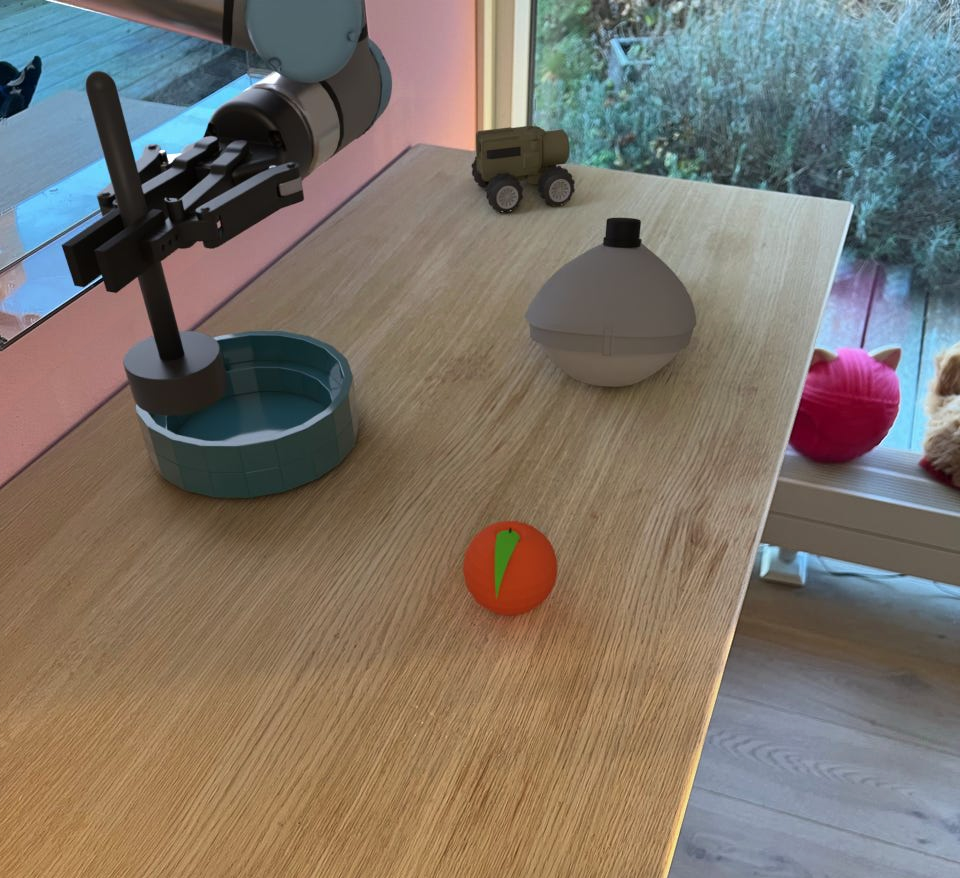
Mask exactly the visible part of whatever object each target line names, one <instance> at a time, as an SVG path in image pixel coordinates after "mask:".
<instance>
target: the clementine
mask: <svg viewBox="0 0 960 878" xmlns="http://www.w3.org/2000/svg"><path fill="white" fill-rule="evenodd" d="M462 573H463V578H464V581H465V586H466V588H467V590H468V591H469V593H470V594H471V596H472V597H473V599H474V600H475V602H476V603H478V604H479V605H480V606H481V607H483V608H484V609H486V610H488V611H489V612H492V613H494V614H497V615H501V616H512V617H513V616H518V615H523V614H526V613H528V612H531V611H532V610H534V609H536V608H537V607H539V606H540V605H542V604H543V603H544V602H545V601H546V600H547V598H548V597H549V595H550V594H551V592H552V590H553V589H554V586H555V584H556V580H557V577H558V560H557V555H556V552H555V549H554V547H553V545H552V544H551V541H550V540H549V538H547V536H546V535H545V534H544V533H542V532H541V531H540V530H539V529H537V528H536V527H535V526H533V525H532V524H528V523H526V522H522V521H518V520H504V521H498V522H494V523H492V524H489V525H487V526H486V527H484V528H483V529H482V530H480V532H478V533H477V534H476V535H475V536H474V537H473V538H472V539H471V541H470V543H469V545H468V546H467V549H466V551H465V553H464V557H463V566H462Z"/></svg>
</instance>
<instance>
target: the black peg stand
mask: <svg viewBox="0 0 960 878" xmlns="http://www.w3.org/2000/svg"><path fill="white" fill-rule="evenodd" d="M84 87H85V92H86V95H87V99H88V104H89V106H90V111H91V114H92V117H93V122H94V124H95V128H96V132H97V137H98V139H99V143H100V147H101V150H102V154H103V156H104V161H105V163H106V168H107V172H108V175H109V179H110V183H112V187H113V190H114V194H115V197H116V201H117V205H118V208H119V212H120V216H121V219H122V223H123V226H124V229H126V228H127V227H129V226H130V225H131V224H133V223H134V222H136V221H137V220H139V219H140V218H141V217H143V216H145V215H146V214H147V213H148V209H147V205H146V201H145V197H144V193H143V189H142V185H141V181H140V177H139V173H138V170H137V166H136V158H135V155H134V150H133V146H132V142H131V139H130V135H129V131H128V130H129V129H128V127H127V123H126V119H125V115H124V112H123V108H122V103H121V99H120V96H119V92H118V88H117V85H116V82H115V80H114V78H113V77H112V76H111V75H110V74H109V73H107V72H106V71H104V70H103V71H102V70H93V71H92V72H90V73H89V74H88V75H87V76H86V79H85V82H84ZM137 281H138V285H139V288H140V291H141V295H142V299H143V301H144V306H145V310H146V314H147V317H148V320H149V324H150V328H151V331H152V335H151V336H149V337H146V338H144V339H142V340H140V341H138V342H136V343H135V344H134V345H132V346H131V347H130V348H129V349H128V350H127V352H126V353H125V355H124V356H123V361H122V363H123V369H124V372H125V374H126V378H127V381H128V384H129V387H130V391H131V395H132V397H133V401H134V404H135V403H136V404H137V405H138V406H139V407H140V408H141V409H143V410H144V411H146V412H149V413H152V414H157V415H165V416H174V415H183V414H189V413H193V412H196V411H199V410H202V409H205V408H207V407H209V406H211V405H212V404H214V403H216V402H217V401H218V400H219V399H221V398H222V396H223V395H224V394H225V392H226V391H227V388H228V380H227V375H226V371H225V366H224V362H223V358H222V353H221V349H220V346H219V344H218V342H217V341H216V340H215V339H214V337H212V336H211V335H209V334H206V333H204V332H199V331H193V330H179V327H178V326H179V325H178V322H177V318H176V314H175V310H174V307H173V303H172V299H171V296H170V295H171V294H170V291H169V287H168V283H167V279H166V275H165V271H164V268H163V264H162V261H160V262H157V263H155V264H154V265H153V266H151V267H150V268H149V269H147V270H146V271H145V272H143V273H142V274H141V275H139V276H138V277H137Z"/></svg>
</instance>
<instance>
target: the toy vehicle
mask: <svg viewBox="0 0 960 878" xmlns="http://www.w3.org/2000/svg"><path fill="white" fill-rule="evenodd" d="M536 105H537V104H536V98H535V99H534V110H536ZM570 148H571V145H570V140H569V136H568V133H566V131H565V130H564V129H555V130H545V129H544V128H541V127H540V126H537V125H526V126H525V125H524V126H515V127H511V126H509V127H501V128H500V127H499V128H493V129H485V130H484V129H483V130H477V131H476V132H475V149H476V150H475V153H476V154H475V155H476V156H475V157H474V160H473V162H472V163H471V169H472V170H471V177H473V180H474V182H475V183H477V186H479V187H480V188H484V189H485V188H486V189H485V191H486V195H485V197H486V200H488V204H489V205H490V206H491V207H492V209H493V210H494V211H498V212H500V211H510V210H512V211H513V210H515V209H516V208H518V207H519V206H520V203H521V201H522V200H523V198H524V196H523V191H524V188H523V186H521V182H527V184H529V185H538V188H537V190H538V193H539V194H540V198H541V200H544V203H545V204H548V203H549V204H548V205H557V206H560V205H561V204H563V205H564V204H566V203H567V202H569V201H570V200H571V199H572V196H573V194H574V193H575V184H576V181H575V179H573V175H572V173H571V172H569V170H568V169H567V168H563V167H562V166H561V165H566V164H567V161H568V160H569V158H570V152H571V151H570ZM481 186H482V187H481Z"/></svg>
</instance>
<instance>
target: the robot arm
mask: <svg viewBox="0 0 960 878" xmlns="http://www.w3.org/2000/svg"><path fill="white" fill-rule="evenodd" d="M46 1H48V2H52V3H56V4H60V5H62V6H63V5H64V6H68V7H70V8H71V7H72V8H76V9H79V10H83V11H88V12H92V13H96V14H99V15H104V16H108V17H112V18H116V19H120V20H124V21H127V22H132V23H135V24H140V25H143V26H148V27H152V28H156V29H158V30H159V29H160V30H164V31H167V32H172V33H176V34H179V35H182V36H183V35H184V36H187V37H191V38H196V39H200V40H203V41H208V42H211V43H216V44H220V45H223V46H228V47H232V48H234V49H235V48H236V49H239V50H242V51H246V52H249V53H250V52H251V53H254V54H258V56H259V58H261V60H262V61H263V62H264V63H265V64H266V65H267V66H268V67H269V68H270V69H272V70H273V71H272V72H271V73H269V74H267V75H266V76H264V77H263V78H261V79H260V80H258V81H257V82H254V83H253V84H252V85H250V86H249V87H247V88H246V89H244V90H243V91H241V92H239V93H238V94H236V95H235V96H233V97H232V98H229V100H227V101H225V102H224V103H222V104H221V105H220V106H218V107H217V108H216V109H215V110H214V111H213V113H212V114H211V115H210V117H209V120H208V123H207V126H206V129H205V131H204V134H203V136H202V138H200V139H199V140H197V141H195V142H192V143H188V144H187V145H185V146H184V147H183V148H182V149H181V153H169V154H168V153H167V150H164V149H162V148H161V145H160V144H157V143H150V144H148V145H145V146H144V147H143V151H142V154H141V156H140V157H139V158H138V159H136V160H135V162H136V166H137V170H138V173H139V177H140V181H141V185H142V189H143V193H144V197H145V201H146V205H147V209H148V213H147V214H146V215H145V216H143V217H141V218H140V219H139V220H137V221H136V222H134V223H133V224H131V225H130V226H129V227H127V228H126V229H124V226H123V223H122V219H121V216H120V212H119V208H118V205H117V201H116V197H115V194H114V190H113V187H112V183H111V182H109V183H108V184H107V185H105V187H103V189H101V190H100V191H99V192H98V193H97V194H96V199H97V203H98V206H99V209H100V213H101V217H100V218H98V219H97V220H96V221H94V222H92V223H91V224H90V225H88V226H86V228H85V229H83V230H82V231H80V232H79V233H78V234H76V235H74V236H73V237H72V238H69V239H68V240H67V241H65V242H63V243H62V244H61V248H62V251H63V254H64V258H65V261H66V263H67V267H68V269H69V273H70V276H71V279H72V283H73V285H74V287H80V288H85V287H87V286H88V285H90V284H91V283H93V282H94V281H95V280H97V279H98V278H100V276H101V277H102V281H103V284H104V288H105V291H106V292H108V293H114V294H118V293H119V292H121V290H123V289H124V288H125V287H126V286H128V285H129V284H130V283H132V282H134V280H135V279H138V276H139V275H141V274H142V273H143V272H145V271H146V270H147V269H149V268H150V267H151V266H153V265H154V264H155V263H157V262H160V261H161V262H162V261H164V260H165V259H167V258H168V257H169V256H171V255H172V254H174V253H175V252H176V251H178V250H179V249H180V250H184V249H190V248H192V247H193V246H194V245H195V244H196V243H197V242H202V246H203V248H205V249H209V250H214V249H217V248H219V247H221V246H222V245H224V244H226V243H227V242H229V241H231V240H232V239H234V238H235V237H237V236H239V235H241V234H242V233H244V232H245V231H247V230H248V229H250V228H252V227H253V226H255V225H257V224H258V223H260V222H262V221H264V220H265V219H267V218H268V217H270V216H271V215H273V214H275V213H276V212H278V211H280V210H281V209H285V208H288V207H290V206H293V205H296V204H299V203H301V202H303V201H304V200H305V195H304V188H303V181H304V180H305V179H306V178H307V177H309V176H310V175H311V174H312V173H314V172H315V171H316V170H317V169H318V168H320V167H321V166H322V165H323V164H324V163H326V162H328V161H329V160H330V159H332V158H333V157H334V156H335V155H337V154H339V152H341V151H342V150H343V149H344V148H346V147H348V145H350V144H351V143H353V142H354V141H356V140H358V139H359V138H360V137H362V136H364V135H365V134H366V133H367V132H368V131H370V130H371V128H373V126H374V124H375V123H376V122H377V121H378V120H379V118H380V117H381V116H382V115H383V114H384V112H385V111H386V110H387V108H388V106H389V104H390V101H391V97H392V93H393V91H392V90H393V77H392V72H391V68H390V66H389V64H388V62H387V60H386V58H385V56H384V54H383V52H382V49H381V48H380V47H379V45H377V44H376V43H375V42H374V40H372V39H371V38H370V37H369V32H368V24H367V22H366V12H365V0H46ZM218 223H220V225H219V226H218Z"/></svg>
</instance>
